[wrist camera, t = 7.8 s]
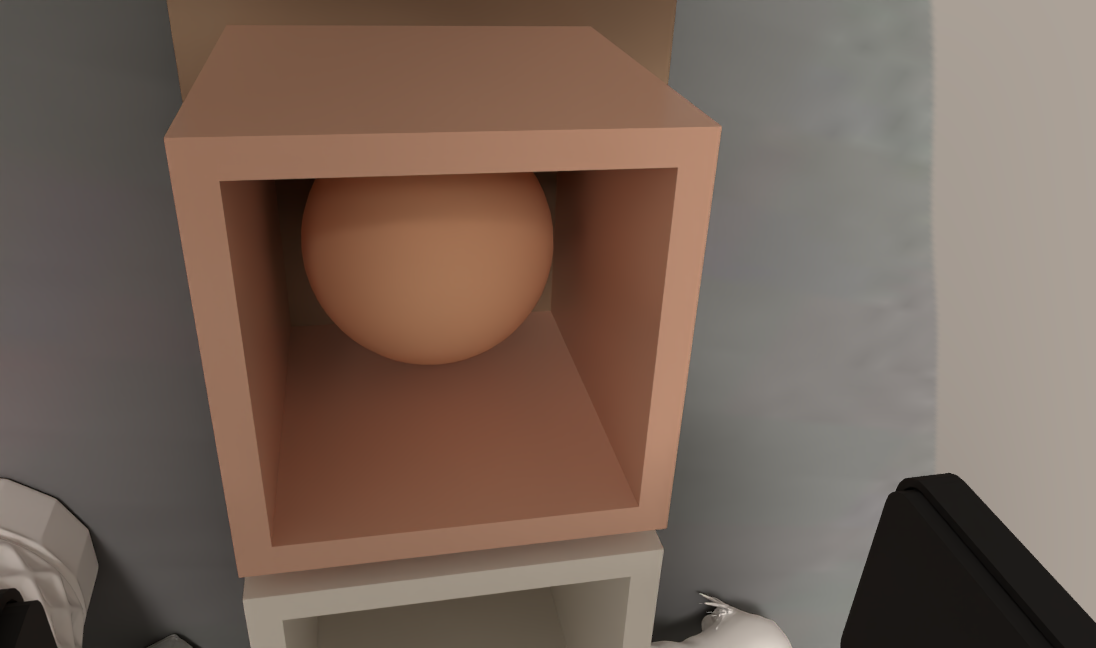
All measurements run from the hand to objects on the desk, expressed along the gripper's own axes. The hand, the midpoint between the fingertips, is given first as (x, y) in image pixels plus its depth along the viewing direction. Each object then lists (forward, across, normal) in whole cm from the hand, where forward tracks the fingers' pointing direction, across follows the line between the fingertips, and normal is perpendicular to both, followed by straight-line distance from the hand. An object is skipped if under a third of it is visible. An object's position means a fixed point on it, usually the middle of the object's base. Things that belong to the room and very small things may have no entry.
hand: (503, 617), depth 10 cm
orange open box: (+16, -1, +2) cm, 16 cm away
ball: (+16, -1, +2) cm, 16 cm away
